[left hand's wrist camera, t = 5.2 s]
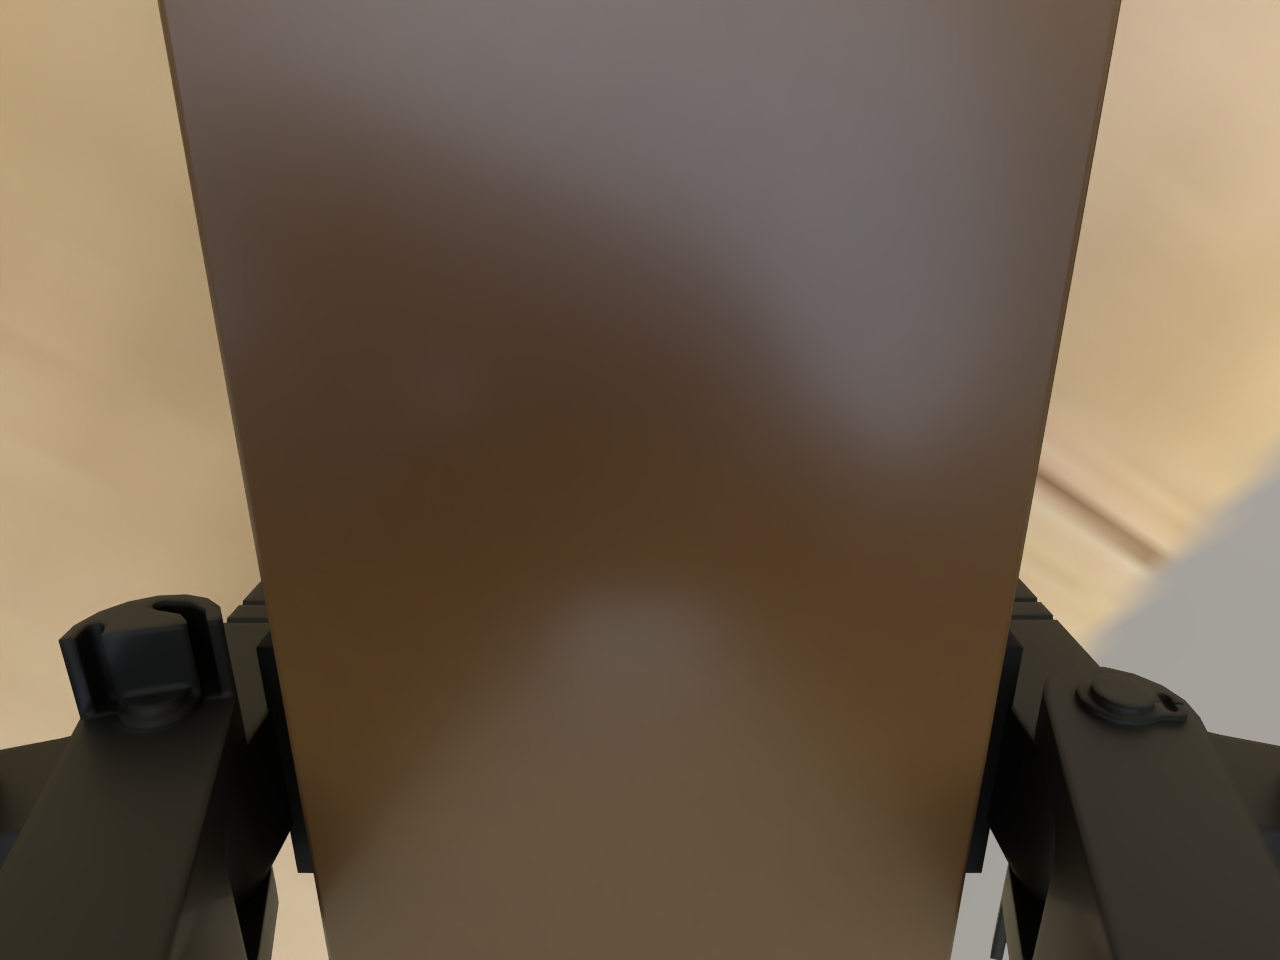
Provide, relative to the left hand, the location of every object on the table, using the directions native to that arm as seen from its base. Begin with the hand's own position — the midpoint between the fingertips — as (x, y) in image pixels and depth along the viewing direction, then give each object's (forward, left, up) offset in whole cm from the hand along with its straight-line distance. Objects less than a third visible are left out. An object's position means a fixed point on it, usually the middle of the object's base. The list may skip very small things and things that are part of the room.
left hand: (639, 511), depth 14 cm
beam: (+7, +21, -1) cm, 22 cm away
